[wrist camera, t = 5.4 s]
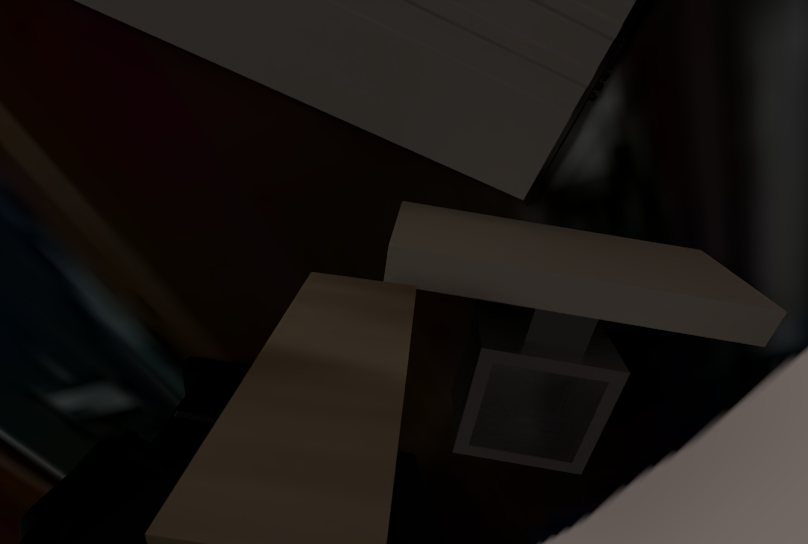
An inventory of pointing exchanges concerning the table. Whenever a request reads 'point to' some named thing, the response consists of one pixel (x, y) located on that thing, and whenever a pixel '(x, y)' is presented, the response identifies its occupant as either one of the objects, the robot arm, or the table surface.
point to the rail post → (305, 428)
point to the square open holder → (533, 386)
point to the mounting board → (576, 274)
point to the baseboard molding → (413, 66)
